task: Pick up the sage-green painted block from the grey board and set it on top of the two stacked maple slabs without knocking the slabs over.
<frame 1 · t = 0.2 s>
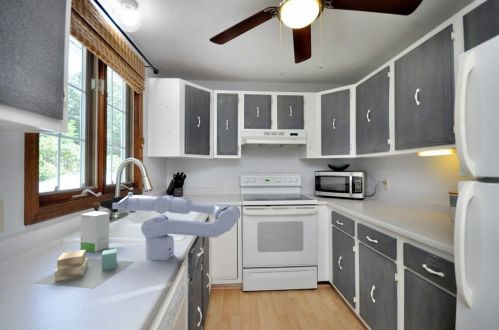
hand: (109, 201, 85), 21 cm above the countertop, tool horizontal, fingers open, 7 cm apart
maple slab lower: (72, 273, 70), point 1 cm above the countertop, touching grey board, maple slab upper
maple slab upper: (72, 263, 70), point 4 cm above the countertop, touching maple slab lower
sage block: (109, 266, 75), point 1 cm above the countertop, touching grey board
mortar and pestle: (96, 240, 104), on the countertop
skincare box: (95, 251, 92), on the countertop
grey board: (88, 274, 71), on the countertop
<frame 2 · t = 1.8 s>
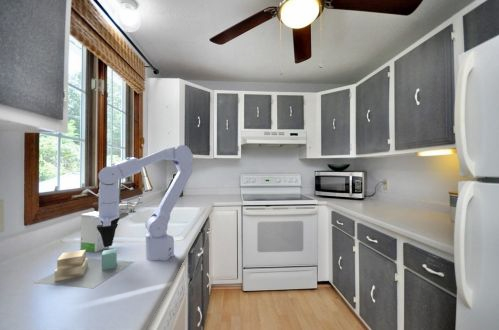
hand: (109, 242, 75), 9 cm above the countertop, tool pointing down, fingers open, 7 cm apart
nothing on the countertop moved.
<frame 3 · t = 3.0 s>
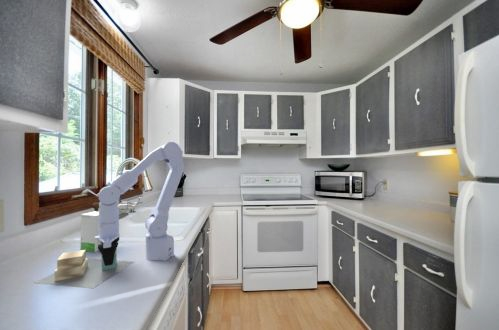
hand: (109, 262, 75), 2 cm above the countertop, tool pointing down, fingers closed on sage block, 4 cm apart
sage block: (109, 266, 75), point 1 cm above the countertop, touching grey board, gripper
everything else where it was.
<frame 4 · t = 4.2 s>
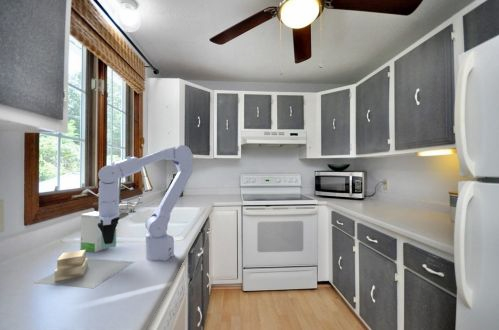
hand: (109, 241, 75), 9 cm above the countertop, tool pointing down, fingers closed on sage block, 4 cm apart
sage block: (109, 245, 75), point 8 cm above the countertop, touching gripper
everything else where it was.
when the fingers open (9 cm above the countertop, at t = 5.7 s): sage block stays where it is, resting on maple slab upper.
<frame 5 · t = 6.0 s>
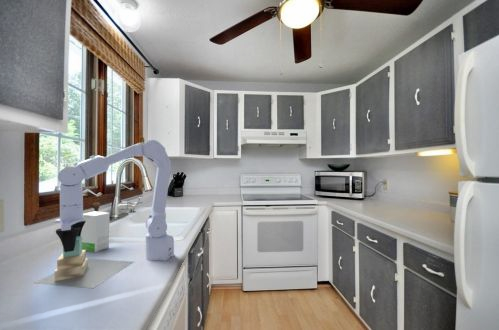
hand: (72, 247, 70), 9 cm above the countertop, tool pointing down, fingers open, 6 cm apart
maple slab upper: (72, 263, 70), point 4 cm above the countertop, touching maple slab lower, sage block
sage block: (73, 254, 70), point 7 cm above the countertop, touching maple slab upper
everything else where it was.
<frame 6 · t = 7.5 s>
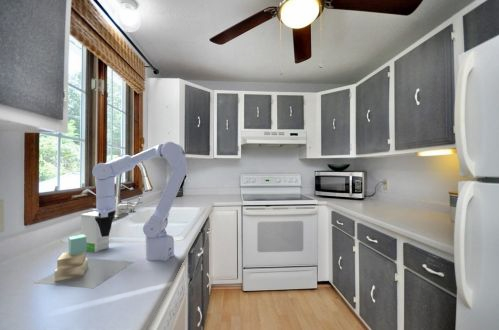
hand: (106, 233, 81), 10 cm above the countertop, tool pointing down, fingers open, 7 cm apart
sage block: (77, 252, 72), point 7 cm above the countertop, touching maple slab upper
everything else where it was.
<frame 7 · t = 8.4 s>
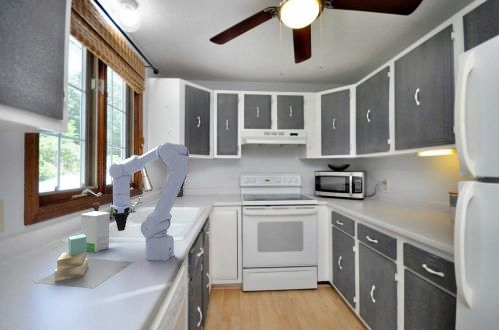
hand: (121, 228, 87), 10 cm above the countertop, tool pointing down, fingers open, 7 cm apart
nothing on the countertop moved.
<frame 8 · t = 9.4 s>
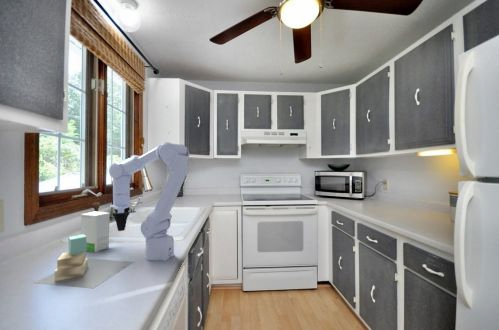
hand: (121, 228, 87), 10 cm above the countertop, tool pointing down, fingers open, 7 cm apart
nothing on the countertop moved.
at the end: sage block 1.9 cm off-centre on the maple slab lower, point 6.0 cm above the maple slab lower's base; sage block tilted 0°; maple slab lower moved 0.0 cm from its start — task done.
